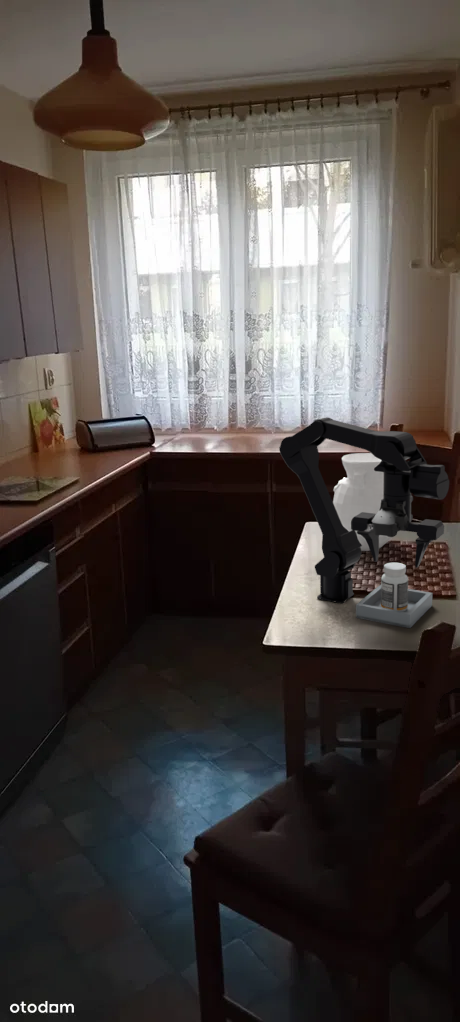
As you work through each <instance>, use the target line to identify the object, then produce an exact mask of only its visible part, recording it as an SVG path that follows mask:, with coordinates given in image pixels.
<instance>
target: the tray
mask: <svg viewBox="0 0 460 1022" xmlns="http://www.w3.org/2000/svg"><path fill="white" fill-rule="evenodd" d="M432 606H433V592H429V591H422V590H417V589H411V588H408V607H407V610H406V611H404V612H403V611H398V610H392V609H387V608H381V584H379V585H378V586H377V587H376V588H374V589H373V590H372V591H371V592H369V593H368V595H366V596H365V597H363V598H362V599H361V600H360V601H358V602H357V603H356V604H355V618H356V619H360V620H365V621H370V622H375V623H379V624H385V625H390V626H397V627H401V628H405V629H406V628H407V629H411V628H412V627H413V626H414V625H415V624H416V623H417V622H418V621H419V620H420V619H421V617H423V616H424V615H425V614H426V612H427V611H428V610H430V609H431V607H432Z"/></svg>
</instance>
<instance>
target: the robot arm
mask: <svg viewBox="0 0 460 1022" xmlns="http://www.w3.org/2000/svg"><path fill="white" fill-rule="evenodd" d="M326 440H330V441H332V442H333V441H334V442H337V443H341V444H344V445H347V446H351V447H355V448H358V449H362V450H365V451H367V452H368V453H372V454H373V455H374V456H375V457H376V458H378V459H381V460H382V461H381V462H380V464H379V465H378V466H376V467H375V468H374V471H378V472H384V484H383V499H382V500H381V507H380V510H379V511H378V512H377V514H374V513H365V512H362V513H360V514H358V515H356V516H355V517H354V518H353V519H352V521H351V530H352V531H350V532H349V531H348V530H347V529H346V528H344V527H343V525H342V523H341V521H340V518H339V516H338V514H337V511H336V509H335V506H334V504H333V499H332V497H331V495H330V492H329V490H328V488H327V485H326V483H325V481H324V478H323V476H322V473H321V471H320V468H319V463H320V461H319V460H320V452H319V449H318V447H319V446H320V445H322V444H323V443H324V442H325V441H326ZM278 449H279V453H280V455H281V458H282V459H283V461H284V463H285V464H286V465H287V467H288V468H289V469H290V470H291V471H292V472H293V473H295V475H296V476H297V477H298V479H299V481H300V484H301V486H302V488H303V491H304V493H305V495H306V499H307V500H308V503H309V505H310V507H311V510H312V513H313V515H314V518H315V520H316V522H317V524H318V526H319V529H320V531H321V534H322V537H321V538H322V541H321V550H322V554H323V558H322V559H320V560H319V561H318V562H317V563H316V564H315V565H314V569H315V573H316V575H317V576H320V577H319V579H320V581H319V583H320V584H319V585H320V586H319V587H320V588H319V589H320V590H319V591H320V592H319V594H318V595H317V596H316V599H317V600H323V601H327V602H333V603H339V604H343V603H345V602H347V601H348V600H349V599H351V597H352V596H354V595H355V593H354V592H353V588H354V585H353V584H354V583H353V581H354V579H353V578H352V572H351V570H353V569H354V568H355V567H356V563H358V562H359V560H361V559H360V558H361V555H362V551H361V548H360V547H361V546H362V545H361V543H360V542H359V540H358V538H357V534H359V535H362V536H363V537H364V538H365V540H366V542H367V544H368V546H369V549H370V551H369V552H370V554H371V556H372V559H373V562H375V563H376V562H378V560H379V552H380V551H379V550H380V548H379V535H384V536H388V537H392V538H394V537H395V536H397V534H398V532H400V531H401V532H409V533H410V532H411V533H416V536H417V538H416V539H415V545H416V548H415V560H414V565H415V566H414V567H415V568H416V569H417V568H419V567H420V564H421V563H422V559H423V558H424V556H425V552H426V550H427V548H428V546H429V544H430V543H432V542H433V541H436V540H438V539H439V538H441V537H442V536H443V535H444V534H445V525H444V523H443V522H442V520H436V519H427V518H426V519H424V520H422V521H421V522H419V523H418V522H412V521H413V518H414V517H413V514H412V502H413V501H414V496H415V497H421V498H428V499H436V500H444V499H445V498H446V497H447V495H448V492H449V488H450V479H449V476H448V473H447V472H446V471H445V470H446V469H445V468H446V466H445V464H444V465H443V464H428V463H427V461H426V459H425V457H424V456H423V454H422V453H421V451H420V449H419V448H418V446H417V442H416V440H415V438H414V436H413V434H411V433H409V432H406V431H395V430H391V431H389V430H387V431H385V430H384V431H382V430H381V431H379V430H373V429H369V428H367V427H361V426H357V425H354V424H350V423H347V422H343V421H338V420H336V419H333V418H331V417H328V416H327V417H322V418H318V419H315V420H314V421H313V422H311V423H310V424H309V425H308V426H306V427H304V428H303V429H301V430H300V431H298V432H296V433H294V434H293V435H290V436H286V437H284V438H283V439H282V440H281V441H280V445H279V448H278ZM408 459H409V460H408ZM355 531H357V534H356V532H355Z"/></svg>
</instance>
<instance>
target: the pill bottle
mask: <svg viewBox="0 0 460 1022" xmlns="http://www.w3.org/2000/svg"><path fill="white" fill-rule="evenodd" d="M406 566H407V565H406V564H403V563H401V562H387V563H385V564H383V572H384V573H383V574H382V575H381V579H380V582H381V583H380V585H381V608H387V609H392V610H398V611H403V612H404V611H406V610H407V607H408V589H409V577H408V575H407V574H406V572H407V567H406Z"/></svg>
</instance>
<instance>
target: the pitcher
mask: <svg viewBox="0 0 460 1022" xmlns="http://www.w3.org/2000/svg"><path fill="white" fill-rule="evenodd" d="M381 461H382V460H381V459H378V458H376V457H375V456H374V455H373V454H372V453H371V452H359V453H358V452H357V453H349V454H345V455H343V456H342V457H341V463H342V466H343V468H344V470H345V472H346V476H347V477H343V478H342V479H340V480H338V483H337V484H336V485H335V486H334V487H333V492H334V495H333V499H332V502H333V504H334V506H335V509H336V511H337V514H338V516H339V518H340V521H341V523H342V525H343V527H344V528H346V529H347V530H348V531H349V532H350V531H352V530H351V521H352V519H353V518H354V517H355V516H356V515H358V514H360V513H362V512H365V513H374V514H377V512H378V511H379V510H380V507H381V500H382V499H383V484H384V472H378V471H374V468H375V467H376V466H378V465H379V464H380V462H381ZM355 532H356V534H357V531H355ZM357 538H358V540H359V542H360V543H361V545H362V546H361V547H360V548H361V552H368V551H369V552H371V551H370V549H369V546H368V544H367V542H366V540H365V538H364V537H363V536H362V535H359V534H357ZM392 538H393V537H388V536H384V535H379V549H381V548H382V547H383V546H384V545H385V544H387V543H388V542H389V541H390V540H391V539H392Z"/></svg>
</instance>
